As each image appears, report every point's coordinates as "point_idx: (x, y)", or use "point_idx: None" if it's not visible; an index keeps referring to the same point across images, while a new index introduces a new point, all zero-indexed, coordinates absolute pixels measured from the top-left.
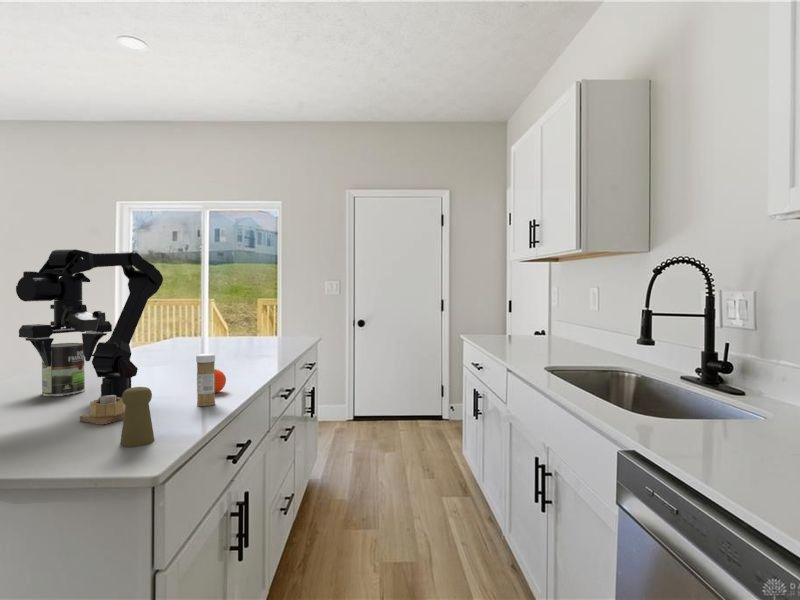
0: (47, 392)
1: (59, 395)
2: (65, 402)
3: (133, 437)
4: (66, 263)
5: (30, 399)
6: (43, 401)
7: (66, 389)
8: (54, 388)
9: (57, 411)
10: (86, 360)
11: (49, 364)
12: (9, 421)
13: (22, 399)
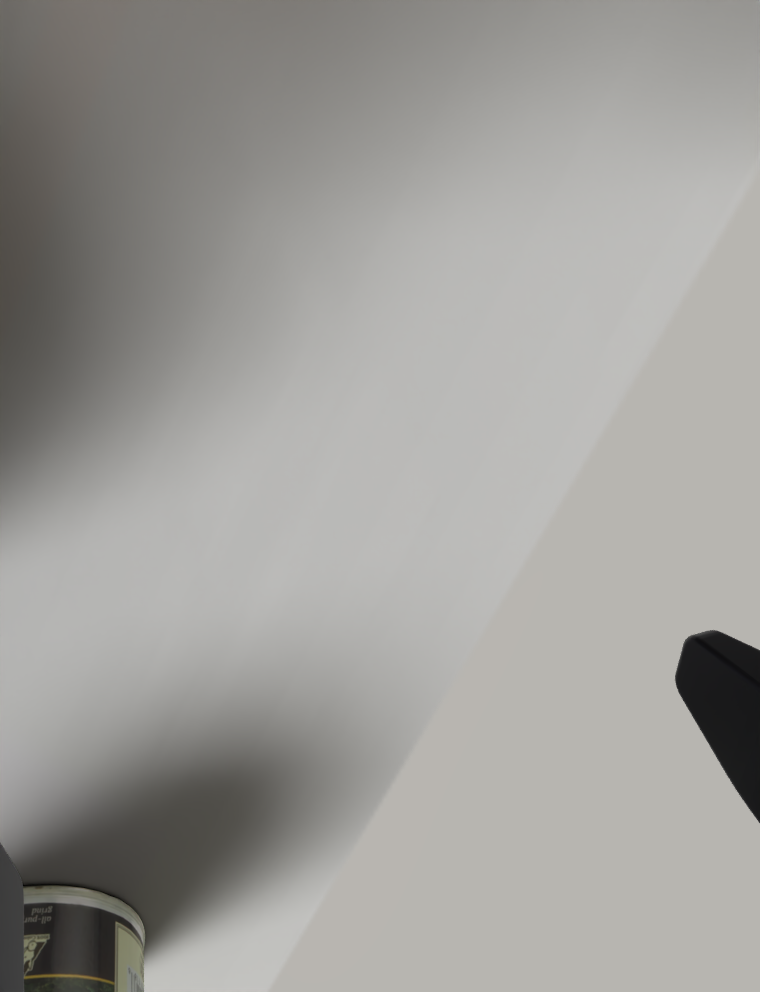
0: (133, 938)
1: (76, 891)
2: (119, 715)
3: None
4: None
5: (229, 887)
6: (205, 812)
7: (26, 932)
8: (101, 952)
9: (286, 487)
10: (10, 877)
11: (744, 644)
12: (576, 453)
13: (255, 904)
